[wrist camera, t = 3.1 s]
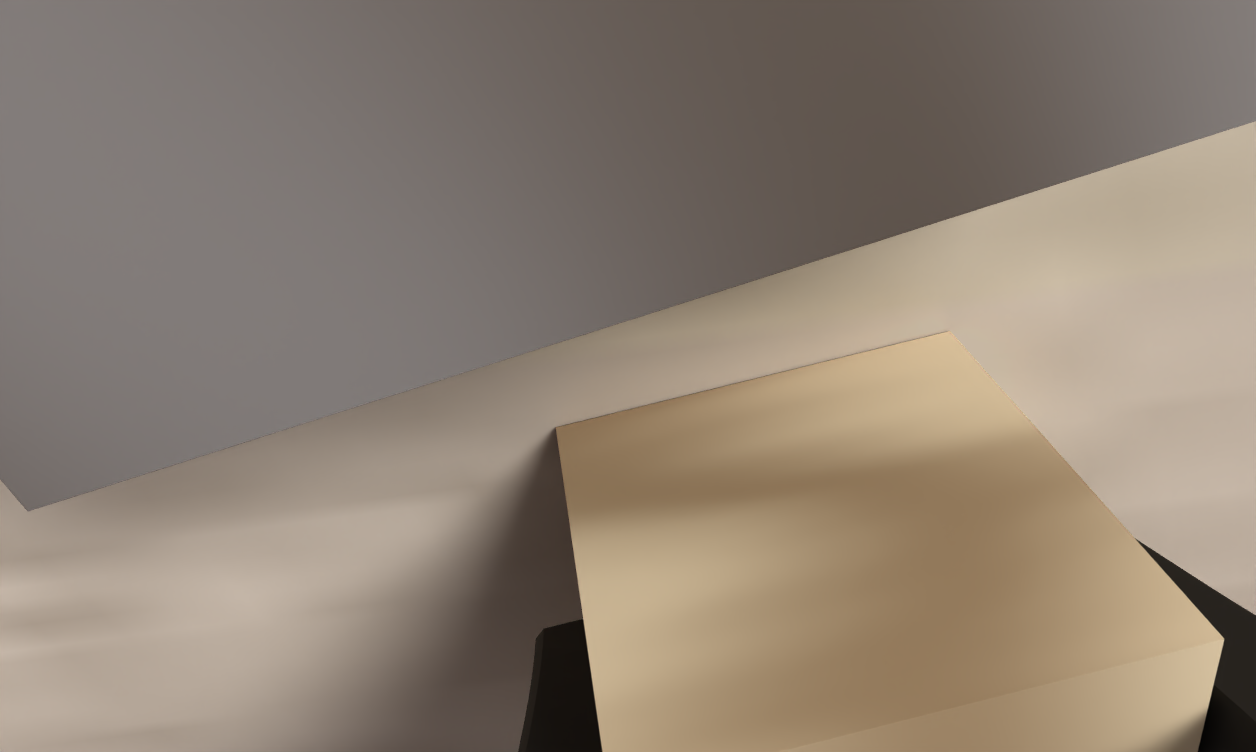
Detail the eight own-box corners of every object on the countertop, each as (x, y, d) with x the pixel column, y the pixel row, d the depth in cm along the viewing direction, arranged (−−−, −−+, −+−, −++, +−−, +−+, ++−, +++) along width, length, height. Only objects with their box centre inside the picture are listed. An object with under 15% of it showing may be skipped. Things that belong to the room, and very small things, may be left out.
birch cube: (631, 688, 13) (701, 1064, 9) (556, 427, 10) (609, 794, 7) (950, 607, 13) (1151, 947, 9) (949, 331, 10) (1225, 639, 7)
